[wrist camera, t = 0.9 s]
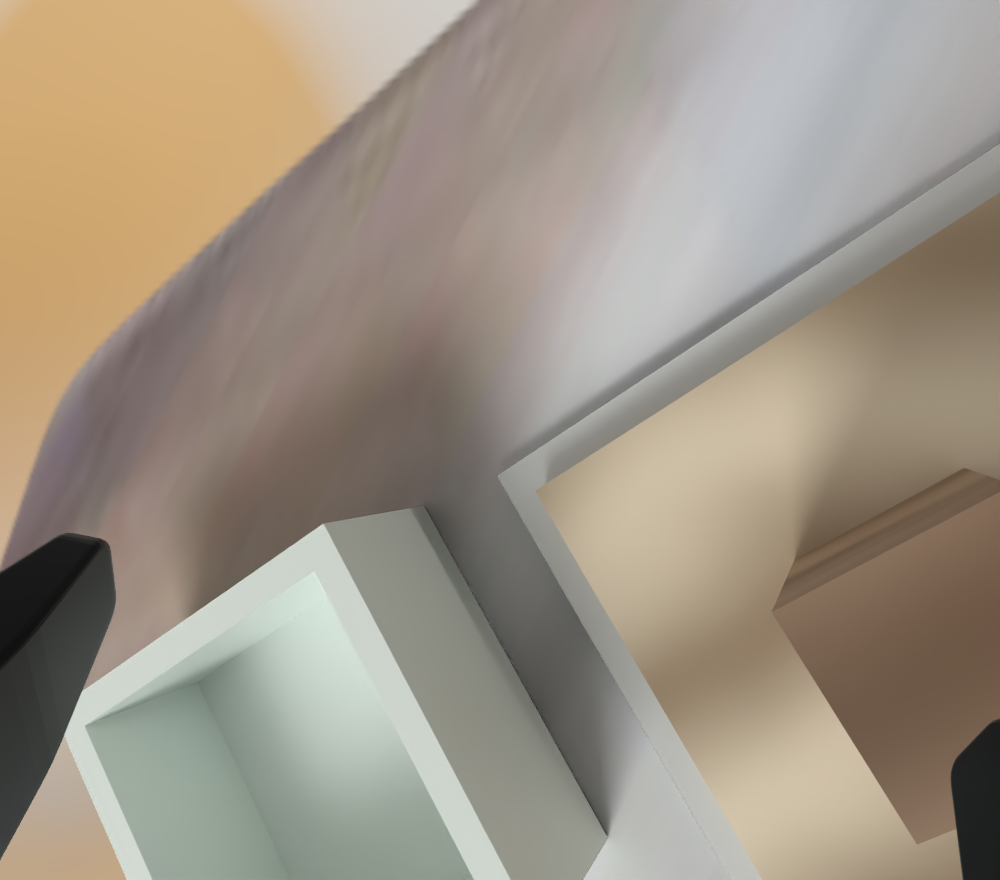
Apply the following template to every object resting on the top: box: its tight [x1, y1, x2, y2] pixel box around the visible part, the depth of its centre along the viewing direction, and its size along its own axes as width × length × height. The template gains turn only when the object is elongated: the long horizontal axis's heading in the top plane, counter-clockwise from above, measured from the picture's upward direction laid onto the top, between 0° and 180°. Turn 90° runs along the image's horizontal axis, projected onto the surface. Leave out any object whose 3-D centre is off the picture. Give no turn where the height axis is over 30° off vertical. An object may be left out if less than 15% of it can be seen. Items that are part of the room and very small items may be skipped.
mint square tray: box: [64, 506, 608, 880], centre depth 23 cm, size 10×10×5 cm
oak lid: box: [536, 193, 1000, 880], centre depth 16 cm, size 13×13×7 cm
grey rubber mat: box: [497, 144, 1000, 880], centre depth 19 cm, size 15×15×1 cm
